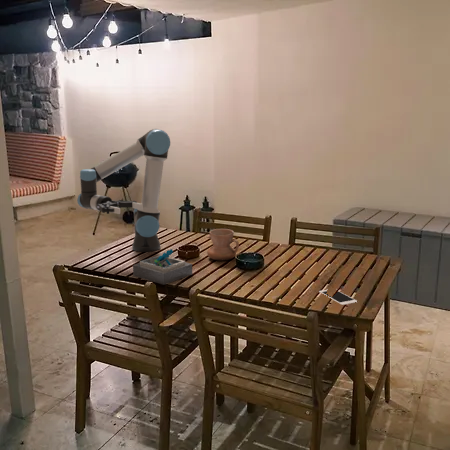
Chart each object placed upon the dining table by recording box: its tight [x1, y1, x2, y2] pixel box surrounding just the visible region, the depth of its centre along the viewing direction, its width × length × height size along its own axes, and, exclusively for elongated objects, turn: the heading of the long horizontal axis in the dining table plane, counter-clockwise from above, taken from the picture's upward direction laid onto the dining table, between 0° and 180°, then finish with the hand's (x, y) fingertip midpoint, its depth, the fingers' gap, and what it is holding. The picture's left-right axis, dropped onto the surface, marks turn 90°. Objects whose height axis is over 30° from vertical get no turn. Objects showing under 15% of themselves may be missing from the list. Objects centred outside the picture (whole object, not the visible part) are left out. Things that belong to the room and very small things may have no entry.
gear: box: [154, 248, 174, 267], centre depth 224 cm, size 11×6×10 cm
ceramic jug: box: [206, 228, 240, 262], centre depth 251 cm, size 18×14×14 cm
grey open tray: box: [132, 254, 193, 286], centre depth 227 cm, size 18×20×6 cm
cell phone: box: [318, 289, 358, 306], centre depth 200 cm, size 8×16×1 cm, turn 24°
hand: (131, 208), depth 228 cm, fingers open, 13 cm apart
